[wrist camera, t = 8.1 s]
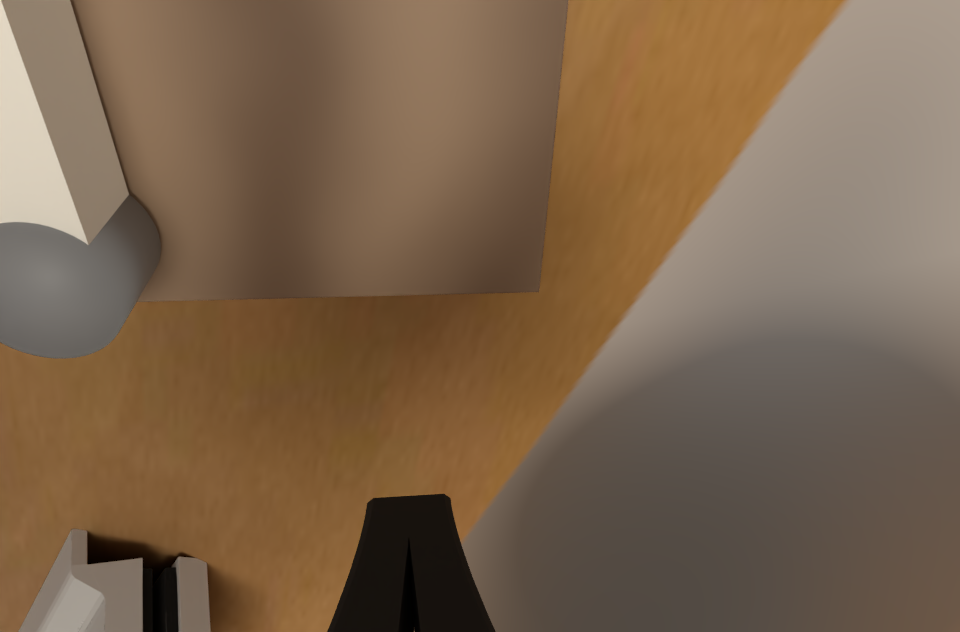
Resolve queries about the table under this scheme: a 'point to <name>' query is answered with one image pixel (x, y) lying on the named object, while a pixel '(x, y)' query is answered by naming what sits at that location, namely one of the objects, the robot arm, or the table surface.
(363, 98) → the stool seat
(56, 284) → the folding leg
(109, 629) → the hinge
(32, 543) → the table surface
